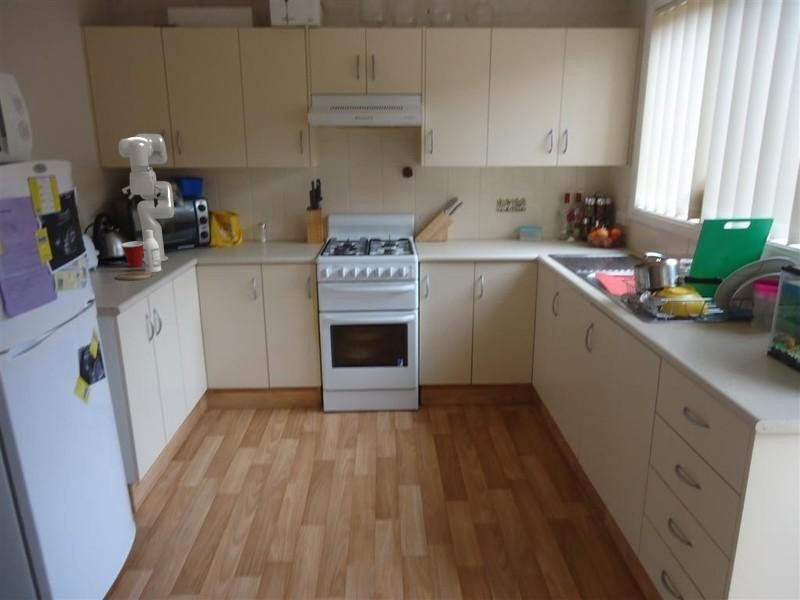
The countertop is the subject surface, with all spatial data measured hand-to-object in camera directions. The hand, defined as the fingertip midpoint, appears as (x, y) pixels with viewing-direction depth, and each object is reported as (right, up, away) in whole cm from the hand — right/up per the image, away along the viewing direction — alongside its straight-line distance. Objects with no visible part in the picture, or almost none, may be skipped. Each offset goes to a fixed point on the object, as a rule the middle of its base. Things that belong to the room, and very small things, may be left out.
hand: (144, 207), depth 257 cm
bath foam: (-1, -30, +11) cm, 32 cm away
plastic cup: (-15, -27, +21) cm, 37 cm away
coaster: (-4, -33, -1) cm, 33 cm away
